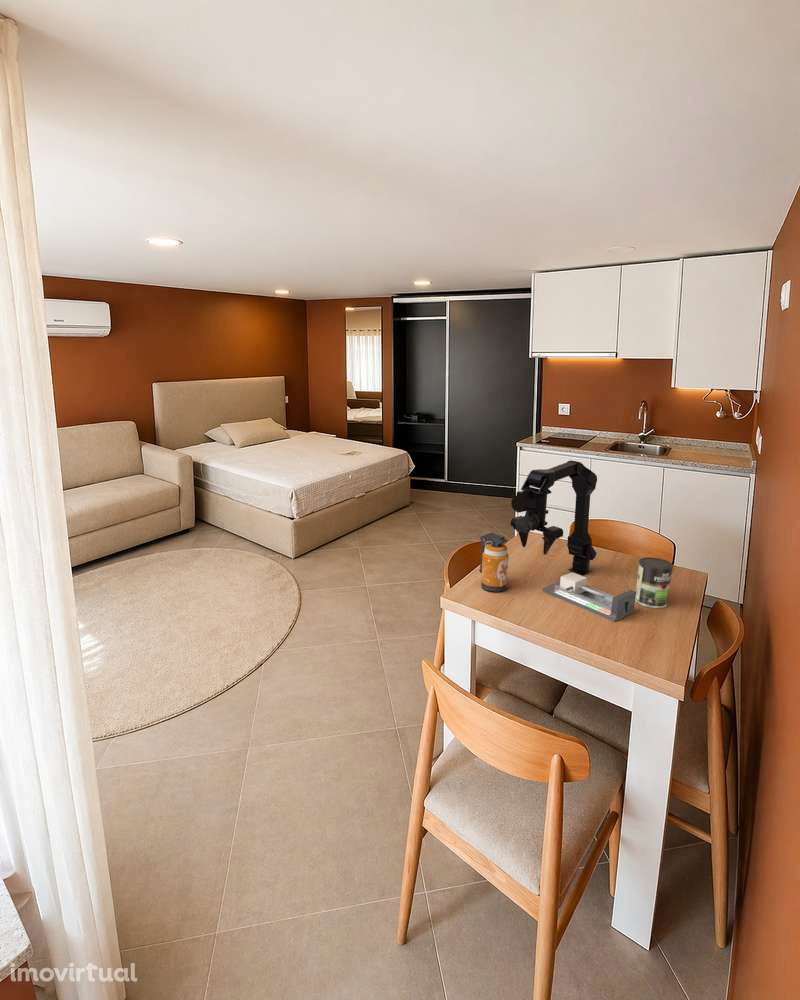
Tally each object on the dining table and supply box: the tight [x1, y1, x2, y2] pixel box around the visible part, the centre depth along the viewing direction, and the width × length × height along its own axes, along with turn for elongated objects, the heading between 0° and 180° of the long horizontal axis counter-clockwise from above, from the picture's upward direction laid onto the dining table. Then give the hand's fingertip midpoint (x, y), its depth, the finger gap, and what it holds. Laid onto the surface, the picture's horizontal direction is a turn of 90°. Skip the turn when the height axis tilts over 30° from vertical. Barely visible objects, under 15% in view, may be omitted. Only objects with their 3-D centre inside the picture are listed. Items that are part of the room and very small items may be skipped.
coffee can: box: [635, 556, 674, 609], centre depth 182 cm, size 10×10×14 cm
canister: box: [478, 531, 510, 593], centre depth 192 cm, size 9×11×20 cm
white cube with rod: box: [559, 571, 605, 598], centre depth 184 cm, size 9×15×5 cm, turn 37°
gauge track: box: [542, 581, 637, 622], centre depth 183 cm, size 12×28×7 cm, turn 37°
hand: (534, 550), depth 189 cm, fingers open, 9 cm apart
